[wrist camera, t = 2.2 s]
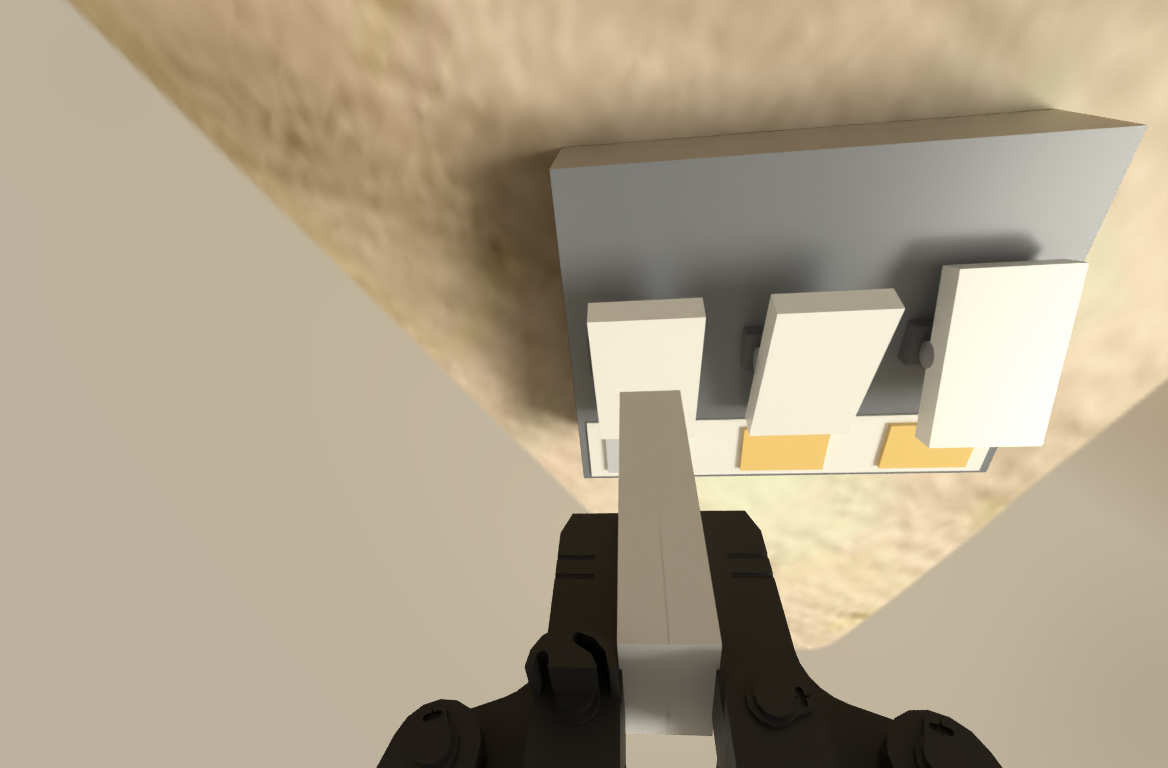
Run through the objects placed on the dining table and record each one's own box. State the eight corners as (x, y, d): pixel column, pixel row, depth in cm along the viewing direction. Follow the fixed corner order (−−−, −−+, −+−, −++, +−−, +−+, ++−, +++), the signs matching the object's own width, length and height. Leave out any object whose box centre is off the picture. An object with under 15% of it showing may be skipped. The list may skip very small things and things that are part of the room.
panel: (561, 147, 21) (547, 173, 17) (1055, 108, 19) (1165, 128, 15) (588, 425, 28) (583, 487, 24) (940, 417, 27) (993, 481, 23)
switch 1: (588, 291, 18) (586, 322, 17) (700, 286, 18) (706, 317, 17) (601, 409, 23) (601, 439, 22) (690, 406, 22) (693, 437, 21)
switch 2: (767, 283, 17) (777, 314, 16) (887, 276, 17) (905, 308, 16) (742, 405, 22) (749, 436, 21) (835, 402, 22) (847, 433, 21)
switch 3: (933, 262, 18) (960, 269, 17) (1050, 256, 18) (1089, 262, 16) (906, 429, 20) (929, 448, 19) (1011, 427, 20) (1042, 446, 19)
